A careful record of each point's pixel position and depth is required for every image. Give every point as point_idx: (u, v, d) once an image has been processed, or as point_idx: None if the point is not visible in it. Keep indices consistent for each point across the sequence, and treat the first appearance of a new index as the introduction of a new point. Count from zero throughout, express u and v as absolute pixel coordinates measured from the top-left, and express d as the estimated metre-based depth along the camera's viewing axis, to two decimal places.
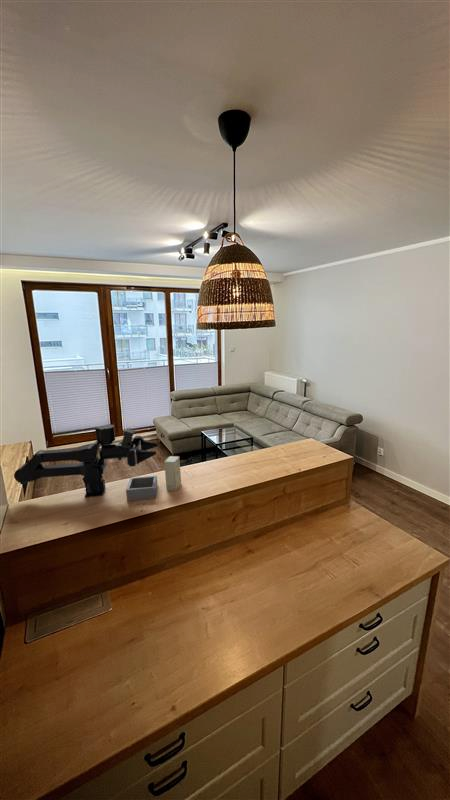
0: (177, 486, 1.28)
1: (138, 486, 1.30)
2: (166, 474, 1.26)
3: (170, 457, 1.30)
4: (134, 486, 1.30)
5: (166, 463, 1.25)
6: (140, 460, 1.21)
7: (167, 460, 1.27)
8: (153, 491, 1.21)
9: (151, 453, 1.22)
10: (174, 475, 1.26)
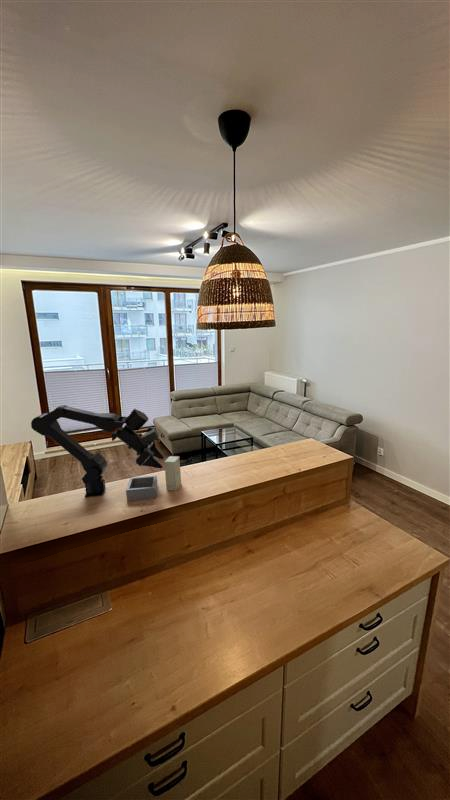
0: (177, 486, 1.28)
1: (138, 486, 1.30)
2: (166, 474, 1.26)
3: (170, 457, 1.30)
4: (134, 486, 1.30)
5: (166, 463, 1.25)
6: (146, 464, 1.20)
7: (167, 460, 1.27)
8: (153, 491, 1.21)
9: (158, 465, 1.22)
10: (174, 475, 1.26)
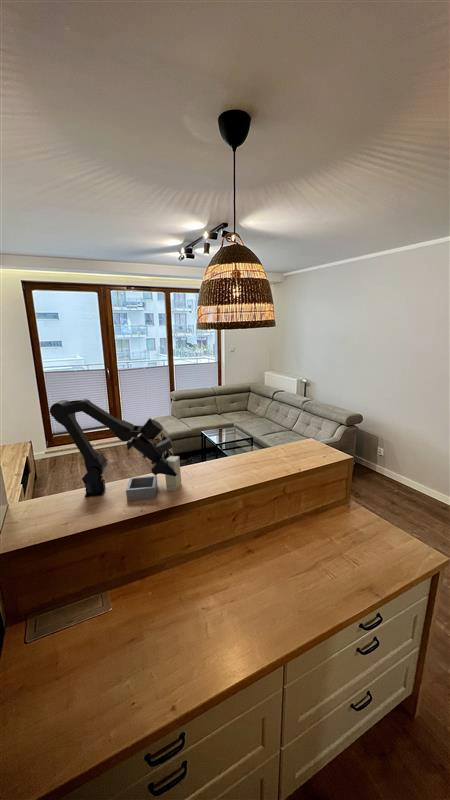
0: (177, 486, 1.28)
1: (138, 486, 1.30)
2: None
3: (170, 457, 1.30)
4: (134, 486, 1.30)
5: None
6: (161, 472, 1.23)
7: None
8: (153, 491, 1.21)
9: (173, 473, 1.25)
10: None
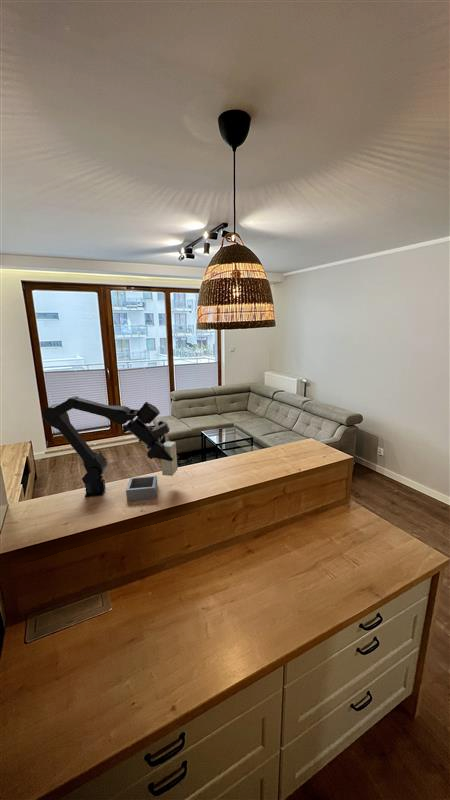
0: (173, 471, 1.27)
1: (138, 486, 1.30)
2: (162, 459, 1.25)
3: (166, 442, 1.28)
4: (134, 486, 1.30)
5: None
6: (157, 456, 1.21)
7: None
8: (153, 491, 1.21)
9: (169, 458, 1.23)
10: None
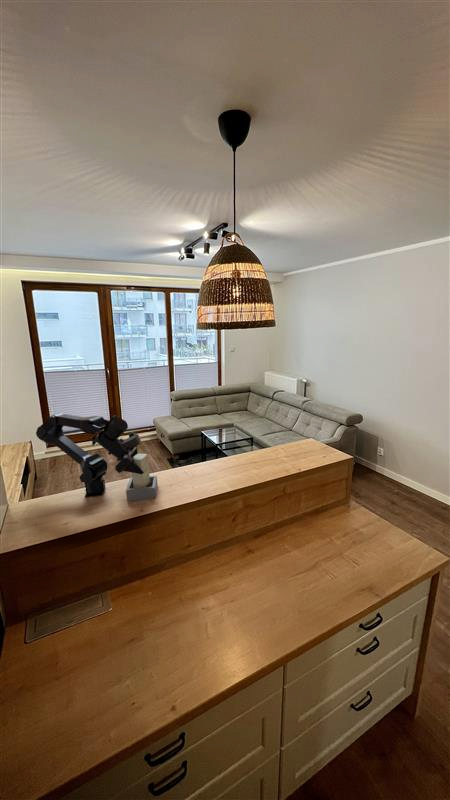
0: (145, 485, 1.23)
1: None
2: None
3: (138, 454, 1.25)
4: None
5: None
6: (126, 469, 1.18)
7: (134, 458, 1.22)
8: (153, 491, 1.21)
9: (139, 471, 1.20)
10: None
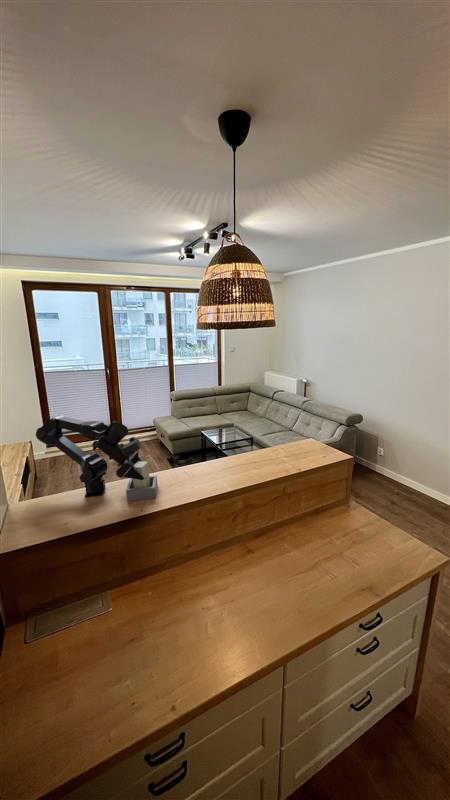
0: None
1: None
2: (134, 480, 1.22)
3: (138, 462, 1.26)
4: None
5: None
6: (127, 475, 1.17)
7: (135, 465, 1.22)
8: (153, 491, 1.21)
9: (139, 477, 1.19)
10: (142, 481, 1.22)
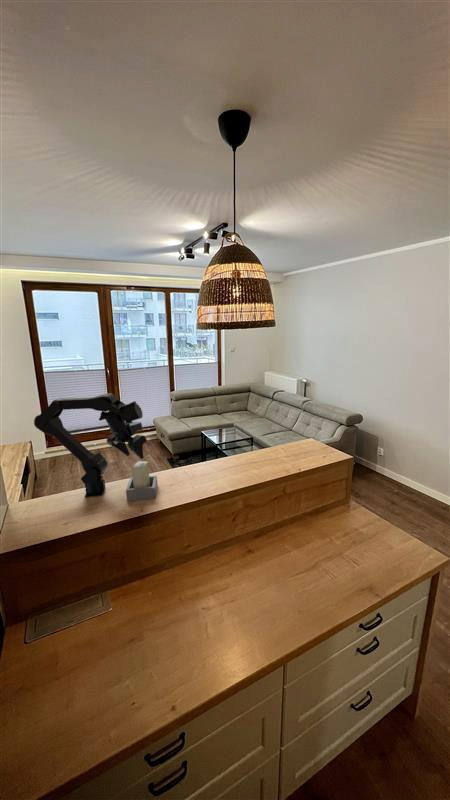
0: None
1: None
2: (134, 480, 1.22)
3: (138, 462, 1.26)
4: None
5: (133, 469, 1.21)
6: (135, 450, 1.21)
7: (135, 465, 1.22)
8: (153, 491, 1.21)
9: (141, 455, 1.25)
10: (142, 481, 1.22)
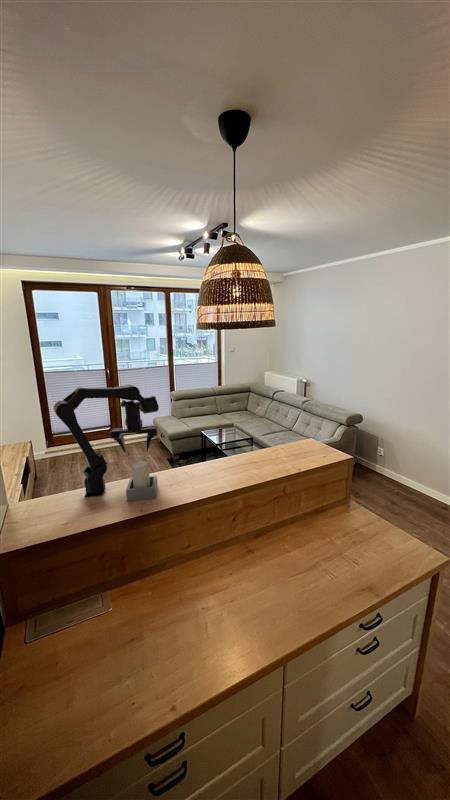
0: None
1: None
2: (134, 480, 1.22)
3: (138, 462, 1.26)
4: None
5: (133, 469, 1.21)
6: (150, 438, 1.32)
7: (135, 465, 1.22)
8: (153, 491, 1.21)
9: (148, 447, 1.35)
10: (142, 481, 1.22)
